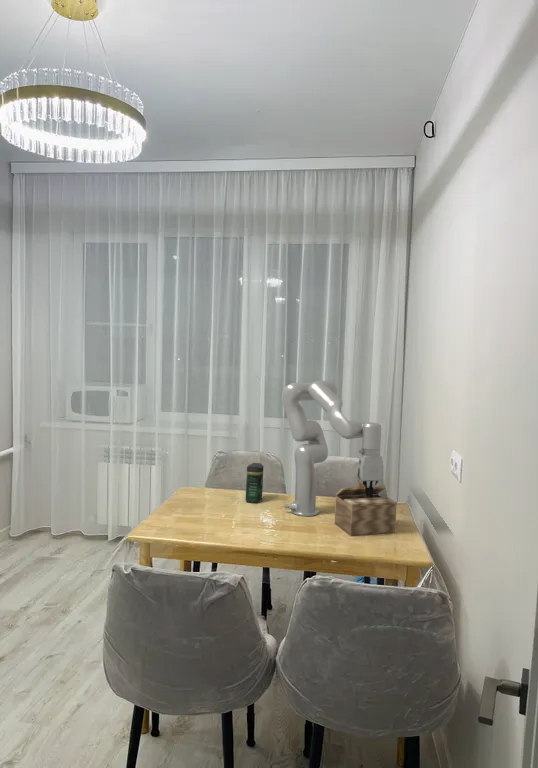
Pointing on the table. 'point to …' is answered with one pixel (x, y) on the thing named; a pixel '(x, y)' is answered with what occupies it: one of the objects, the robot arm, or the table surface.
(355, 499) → the carton
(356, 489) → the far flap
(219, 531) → the table surface
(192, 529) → the table surface
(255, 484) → the coffee jar
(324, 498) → the table surface
